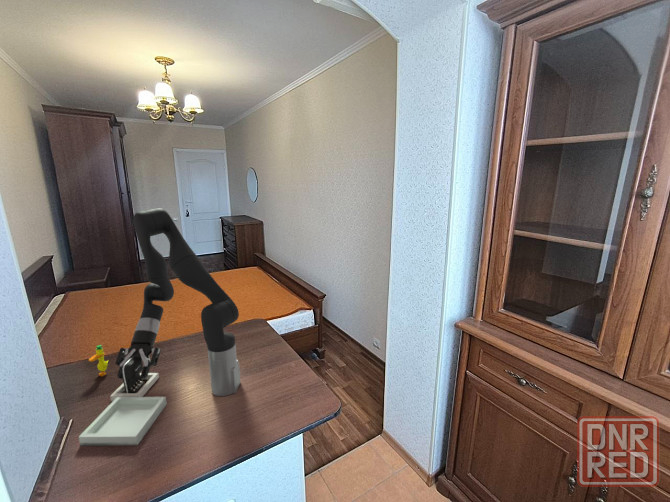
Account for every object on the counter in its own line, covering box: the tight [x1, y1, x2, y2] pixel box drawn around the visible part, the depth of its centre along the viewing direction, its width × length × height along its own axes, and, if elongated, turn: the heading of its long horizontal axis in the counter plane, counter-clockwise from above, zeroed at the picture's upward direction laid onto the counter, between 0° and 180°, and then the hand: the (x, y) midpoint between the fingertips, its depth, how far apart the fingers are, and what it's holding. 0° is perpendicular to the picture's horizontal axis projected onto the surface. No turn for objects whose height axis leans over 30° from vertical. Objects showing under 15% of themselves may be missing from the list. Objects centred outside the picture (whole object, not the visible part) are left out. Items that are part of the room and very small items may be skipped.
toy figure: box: [88, 344, 109, 377], centre depth 115 cm, size 7×4×12 cm, turn 166°
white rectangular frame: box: [109, 372, 160, 402], centre depth 109 cm, size 9×12×2 cm
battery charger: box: [121, 357, 145, 393], centre depth 108 cm, size 7×4×11 cm, turn 2°
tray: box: [78, 396, 168, 447], centre depth 93 cm, size 16×16×3 cm
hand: (131, 378), depth 106 cm, fingers open, 7 cm apart
